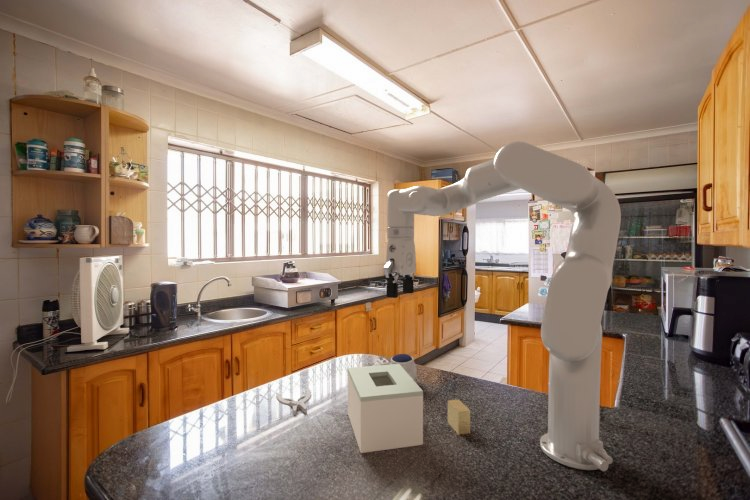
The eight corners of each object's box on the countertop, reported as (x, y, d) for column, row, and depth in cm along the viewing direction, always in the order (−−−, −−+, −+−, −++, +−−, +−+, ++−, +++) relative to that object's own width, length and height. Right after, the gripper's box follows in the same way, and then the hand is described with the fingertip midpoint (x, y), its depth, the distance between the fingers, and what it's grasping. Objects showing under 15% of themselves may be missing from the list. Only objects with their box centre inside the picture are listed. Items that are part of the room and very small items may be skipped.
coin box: (422, 444, 80) (423, 391, 80) (360, 453, 77) (360, 397, 77) (399, 407, 98) (399, 363, 97) (347, 413, 94) (347, 367, 94)
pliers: (309, 385, 110) (319, 406, 96) (309, 390, 110) (319, 412, 96) (275, 389, 107) (280, 412, 92) (275, 395, 107) (280, 418, 93)
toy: (345, 356, 116) (401, 344, 123) (347, 384, 116) (403, 371, 124) (364, 376, 99) (428, 361, 106) (367, 409, 99) (430, 392, 107)
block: (470, 433, 85) (470, 410, 85) (458, 435, 84) (458, 411, 84) (458, 421, 91) (458, 399, 91) (447, 422, 90) (447, 400, 90)
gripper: (398, 233, 92) (397, 300, 93) (425, 234, 107) (425, 292, 107) (373, 233, 96) (372, 298, 96) (402, 234, 111) (402, 290, 111)
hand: (400, 295), depth 102 cm, fingers open, 9 cm apart
